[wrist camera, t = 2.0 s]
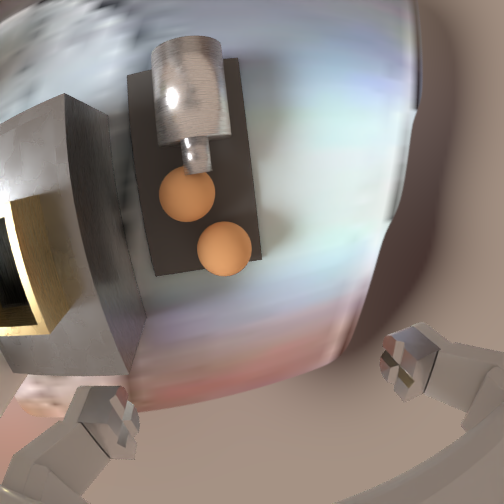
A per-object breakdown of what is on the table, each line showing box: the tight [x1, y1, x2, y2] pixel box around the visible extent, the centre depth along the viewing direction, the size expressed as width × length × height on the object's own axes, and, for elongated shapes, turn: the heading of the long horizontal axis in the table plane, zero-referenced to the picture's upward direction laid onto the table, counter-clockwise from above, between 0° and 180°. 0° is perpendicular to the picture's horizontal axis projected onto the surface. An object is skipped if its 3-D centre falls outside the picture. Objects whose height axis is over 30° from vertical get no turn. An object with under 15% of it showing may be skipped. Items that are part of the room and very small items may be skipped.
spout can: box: [151, 36, 232, 175], centre depth 17 cm, size 9×5×5 cm, turn 7°
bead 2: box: [197, 221, 252, 276], centre depth 20 cm, size 4×4×4 cm
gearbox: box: [0, 93, 147, 376], centre depth 15 cm, size 18×12×11 cm, turn 7°
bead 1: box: [159, 166, 215, 222], centre depth 19 cm, size 4×4×4 cm
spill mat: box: [127, 58, 262, 276], centre depth 20 cm, size 17×9×1 cm, turn 7°
